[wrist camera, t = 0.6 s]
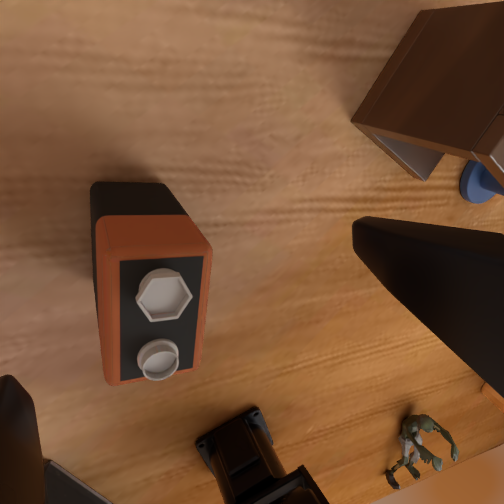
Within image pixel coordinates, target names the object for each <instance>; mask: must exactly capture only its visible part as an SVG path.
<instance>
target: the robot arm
mask: <svg viewBox="0 0 504 504" xmlns="http://www.w3.org/2000/svg"><path fill="white" fill-rule="evenodd" d="M352 240H353V249H354V251H355V253H356V254H357V256H358V257H359V258H360V259H361V260H362V261H363V262H364V264H365V265H366V266H367V267H368V268H369V269H370V271H371V272H372V273H373V274H374V275H375V276H376V277H377V279H378V280H379V281H380V282H381V283H382V284H383V286H384V287H385V288H386V289H387V290H388V291H389V292H390V293H391V294H392V295H393V296H394V297H395V298H396V299H397V300H398V301H400V302H401V303H402V304H403V305H404V306H405V307H406V308H407V309H408V310H409V311H410V312H411V313H412V314H413V315H415V316H416V317H417V318H418V319H419V320H420V321H421V322H422V323H423V324H424V325H425V326H426V327H427V328H429V329H430V330H431V331H432V332H433V333H434V334H435V335H436V336H437V337H438V338H439V339H440V340H441V341H442V342H444V343H445V344H446V345H447V346H448V347H449V348H450V349H451V350H452V351H453V352H454V353H455V354H456V355H457V356H459V357H460V358H461V359H462V360H463V361H464V362H465V363H466V364H467V365H468V366H469V367H470V368H471V369H473V370H474V371H475V372H476V373H477V374H478V375H479V376H480V377H481V378H482V379H483V380H484V381H485V382H486V383H488V384H489V385H490V386H491V387H492V388H493V389H494V390H495V391H496V392H497V393H498V394H499V395H500V396H501V397H503V398H504V235H503V234H502V233H495V232H487V231H479V230H471V229H463V228H456V227H448V226H440V225H432V224H425V223H417V222H409V221H402V220H394V219H386V218H378V217H371V216H365V217H362V218H360V219H358V220H355V221H354V222H353V224H352ZM195 445H196V448H197V450H198V451H199V453H200V455H201V456H202V458H203V459H204V461H205V462H206V464H207V466H208V467H209V469H210V470H211V472H212V473H213V475H214V477H215V478H216V480H217V483H218V486H219V489H220V492H221V495H222V497H223V500H224V503H225V504H329V502H328V501H327V499H326V498H325V496H324V495H323V493H322V492H321V490H320V489H319V487H318V486H317V484H316V483H315V481H314V480H313V478H312V477H311V475H310V474H309V472H308V471H307V470H306V468H305V467H304V465H301V466H299V467H298V469H296V470H295V471H293V472H291V473H289V474H288V475H287V474H286V472H285V470H284V468H283V466H282V464H281V462H280V460H279V458H278V456H277V455H276V453H275V451H274V449H273V447H272V445H273V440H272V438H271V436H270V433H269V431H268V428H267V426H266V423H265V421H264V418H263V416H262V414H261V411H260V409H259V408H258V407H254V408H252V409H250V410H248V411H247V412H245V413H243V414H241V415H240V416H238V417H236V418H234V419H233V420H231V421H229V422H227V423H226V424H224V425H222V426H220V427H219V428H217V429H215V430H213V431H212V432H210V433H208V434H206V435H205V436H203V437H201V438H199V439H198V440H197V441H196V442H195ZM0 504H45V482H44V466H43V458H42V451H41V445H40V438H39V432H38V426H37V419H36V413H35V407H34V402H33V400H32V398H31V396H30V395H29V393H28V392H27V391H26V390H25V389H24V388H23V387H22V385H21V384H20V383H19V382H18V381H17V380H16V379H15V378H14V377H13V376H12V375H8V374H7V375H4V376H2V377H0Z"/></svg>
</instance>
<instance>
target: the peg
mask: <svg viewBox="0 0 504 504" xmlns="http://www.w3.org/2000/svg"><path fill="white" fill-rule="evenodd" d="M460 192H461V195H462V197H463V198H464V199H465V200H467V201H469V202H472V203H476V204H479V203H483V202H486V201H487V200H489V199H490V198H492V197H493V196H494V195H495V194H496V193H497V194H500V195H503V196H504V188H503V187H502V186H501V184H500V183H499V182H498V181H497V180H496V179H495V178H494V176H493V175H492V174H491V173H490V172H489V171H488V169H487V168H486V167H485V166H484V165H483V164H482V163H481V162H477V161H473V160H470V161H469V162H468V164H467V166H466V167H465V169H464V172H463V174H462V177H461V181H460Z"/></svg>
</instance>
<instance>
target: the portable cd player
mask: <svg viewBox="0 0 504 504" xmlns="http://www.w3.org/2000/svg"><path fill="white" fill-rule="evenodd" d="M43 466H44V482H45V504H113V503H111V502H110V501H108V500H107V499H106V498H104V497H103V496H101V495H100V494H99V493H97V492H96V491H94V490H93V489H91V488H90V487H89V486H87V485H86V484H84V483H83V482H82V481H80V480H79V479H77V478H76V477H75V476H73V475H72V474H70V473H69V472H67V471H66V470H65V469H63V468H62V467H60V466H59V465H58V464H56V463H55V462H53V461H52V460H51V461H49V462H48V463H46V464H45V465H43Z"/></svg>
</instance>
